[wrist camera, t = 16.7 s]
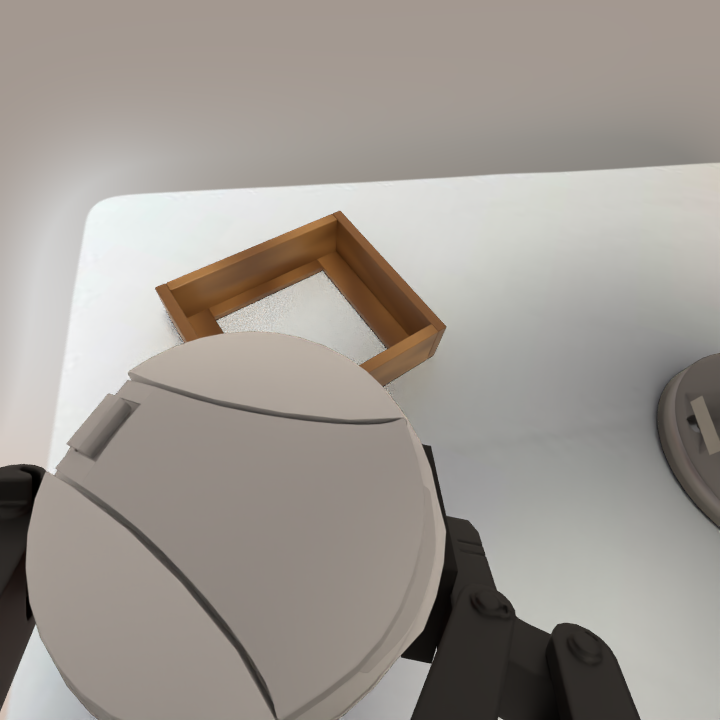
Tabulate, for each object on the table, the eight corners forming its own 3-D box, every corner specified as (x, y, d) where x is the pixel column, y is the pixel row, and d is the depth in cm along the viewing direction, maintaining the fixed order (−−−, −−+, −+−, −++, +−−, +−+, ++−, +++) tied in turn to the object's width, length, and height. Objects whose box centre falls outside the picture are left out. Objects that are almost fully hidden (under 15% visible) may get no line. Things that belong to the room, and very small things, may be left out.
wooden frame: (338, 245, 39) (340, 210, 36) (434, 355, 34) (447, 326, 31) (171, 320, 34) (154, 287, 30) (256, 463, 29) (247, 443, 25)
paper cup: (162, 615, 18) (-142, 624, 6) (256, 454, 22) (181, 263, 10) (330, 706, 17) (360, 931, 5) (399, 521, 21) (509, 399, 9)
